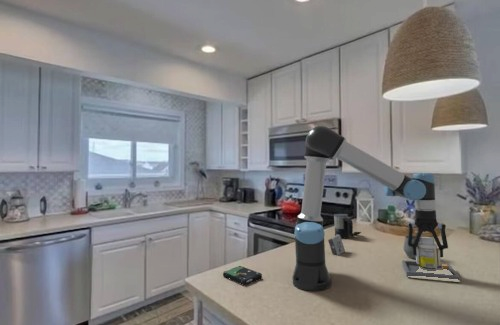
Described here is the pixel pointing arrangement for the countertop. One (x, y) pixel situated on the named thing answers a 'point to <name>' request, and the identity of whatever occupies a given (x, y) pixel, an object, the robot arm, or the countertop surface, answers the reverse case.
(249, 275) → the disk drive
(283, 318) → the countertop surface
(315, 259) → the robot arm
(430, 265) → the supplement bottle
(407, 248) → the cup
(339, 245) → the electrical switch
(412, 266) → the grey tray
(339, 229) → the milk frother
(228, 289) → the countertop surface
